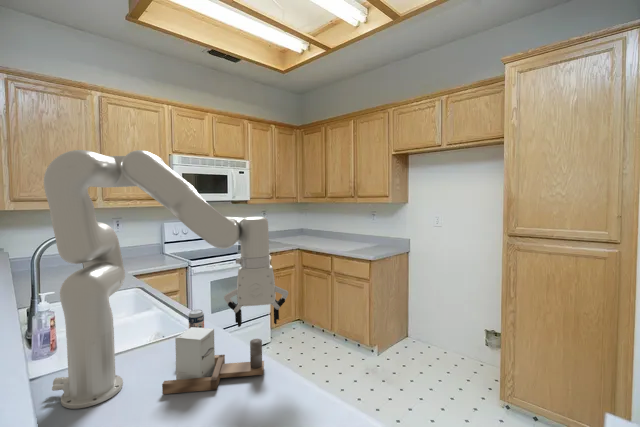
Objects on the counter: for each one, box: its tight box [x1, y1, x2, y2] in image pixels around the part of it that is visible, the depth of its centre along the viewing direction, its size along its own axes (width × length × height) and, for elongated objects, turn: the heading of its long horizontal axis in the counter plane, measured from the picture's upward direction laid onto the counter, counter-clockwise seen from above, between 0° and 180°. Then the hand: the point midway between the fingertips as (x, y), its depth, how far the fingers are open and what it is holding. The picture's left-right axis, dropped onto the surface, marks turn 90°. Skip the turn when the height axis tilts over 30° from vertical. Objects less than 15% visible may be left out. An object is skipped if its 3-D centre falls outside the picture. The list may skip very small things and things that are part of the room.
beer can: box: [187, 309, 205, 329], centre depth 103 cm, size 5×5×12 cm
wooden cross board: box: [161, 338, 265, 395], centre depth 86 cm, size 24×13×9 cm, turn 98°
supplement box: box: [174, 327, 216, 380], centre depth 86 cm, size 7×7×13 cm
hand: (257, 323), depth 88 cm, fingers open, 9 cm apart
